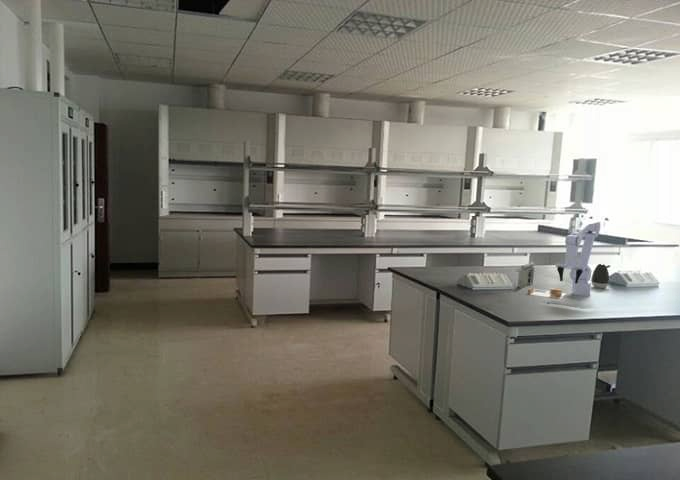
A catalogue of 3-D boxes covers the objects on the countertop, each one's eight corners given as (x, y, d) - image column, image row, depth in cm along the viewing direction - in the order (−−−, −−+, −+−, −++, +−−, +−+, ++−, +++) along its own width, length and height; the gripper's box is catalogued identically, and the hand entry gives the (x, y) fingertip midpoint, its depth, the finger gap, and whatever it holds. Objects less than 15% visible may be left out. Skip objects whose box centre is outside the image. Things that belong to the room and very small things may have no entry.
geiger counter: (526, 265, 316) (539, 261, 336) (515, 264, 319) (528, 260, 339) (524, 288, 317) (537, 283, 337) (513, 287, 321) (527, 281, 341)
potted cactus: (612, 289, 325) (614, 265, 323) (595, 289, 325) (597, 264, 323) (604, 286, 335) (606, 262, 333) (587, 285, 335) (589, 262, 333)
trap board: (566, 295, 301) (566, 288, 301) (560, 301, 286) (561, 294, 285) (533, 291, 311) (533, 284, 310) (526, 296, 295) (526, 289, 295)
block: (561, 296, 293) (562, 289, 292) (559, 297, 288) (560, 290, 288) (551, 294, 295) (552, 287, 295) (550, 296, 291) (550, 289, 291)
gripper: (555, 256, 287) (552, 280, 288) (584, 259, 278) (581, 284, 280) (558, 255, 293) (556, 279, 294) (587, 258, 284) (584, 283, 285)
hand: (568, 282), depth 287 cm, fingers open, 7 cm apart
